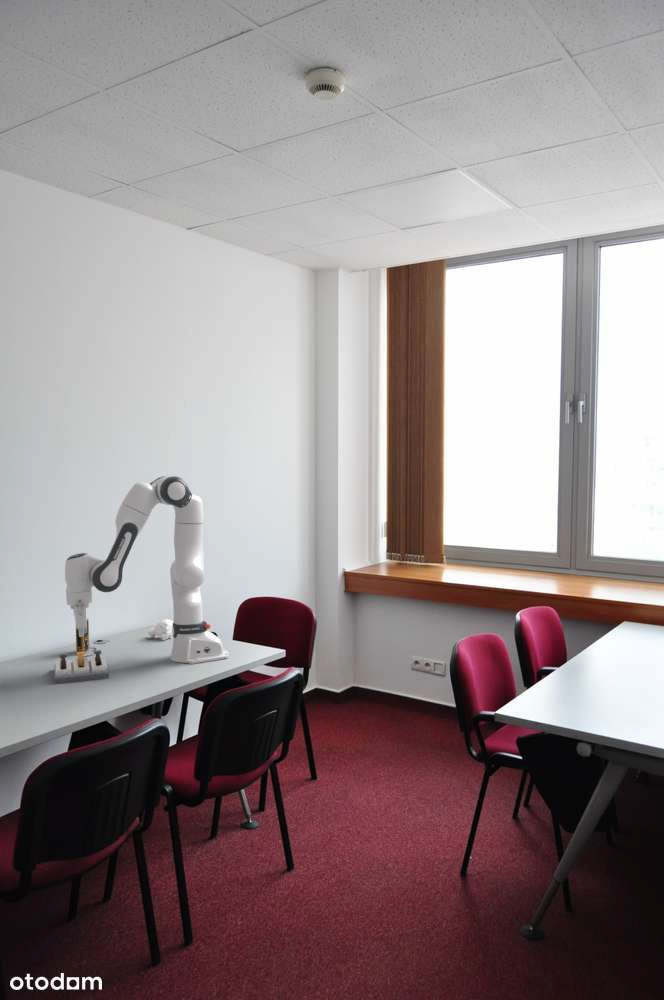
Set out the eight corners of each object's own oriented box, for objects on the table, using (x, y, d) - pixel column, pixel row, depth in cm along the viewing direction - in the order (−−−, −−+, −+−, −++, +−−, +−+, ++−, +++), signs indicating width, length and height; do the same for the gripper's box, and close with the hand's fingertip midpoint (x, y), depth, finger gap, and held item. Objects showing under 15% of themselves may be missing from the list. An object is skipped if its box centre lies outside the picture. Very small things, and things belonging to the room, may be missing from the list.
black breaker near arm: (101, 663, 272) (101, 651, 272) (94, 664, 272) (94, 652, 271) (101, 662, 274) (100, 650, 274) (94, 663, 273) (94, 650, 273)
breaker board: (108, 678, 262) (108, 667, 262) (54, 684, 256) (54, 672, 255) (105, 664, 280) (105, 654, 279) (54, 669, 273) (54, 659, 273)
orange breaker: (84, 665, 270) (83, 653, 270) (77, 666, 270) (77, 653, 269) (84, 664, 272) (83, 651, 272) (77, 664, 271) (76, 652, 271)
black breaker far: (66, 667, 268) (66, 654, 268) (59, 668, 267) (59, 655, 267) (66, 665, 270) (66, 653, 270) (59, 666, 269) (59, 654, 269)
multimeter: (98, 657, 290) (96, 606, 289) (72, 657, 291) (71, 607, 290) (110, 647, 305) (108, 599, 304) (86, 648, 305) (84, 600, 304)
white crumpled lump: (167, 621, 315) (143, 621, 319) (169, 640, 315) (145, 641, 319) (175, 617, 321) (152, 618, 325) (177, 637, 321) (154, 637, 325)
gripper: (89, 602, 260) (91, 641, 260) (87, 593, 279) (89, 629, 280) (70, 604, 257) (72, 643, 258) (69, 594, 276) (71, 631, 277)
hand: (81, 635), depth 269 cm, fingers closed
